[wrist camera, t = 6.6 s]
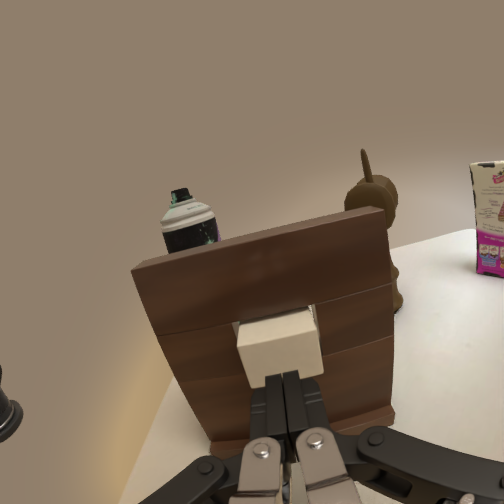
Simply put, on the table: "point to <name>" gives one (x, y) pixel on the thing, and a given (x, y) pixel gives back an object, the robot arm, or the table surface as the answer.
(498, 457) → the table surface
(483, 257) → the candy bar box
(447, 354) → the table surface
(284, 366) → the switch paddle
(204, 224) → the spray can
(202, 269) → the wall plate
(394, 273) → the kendama
